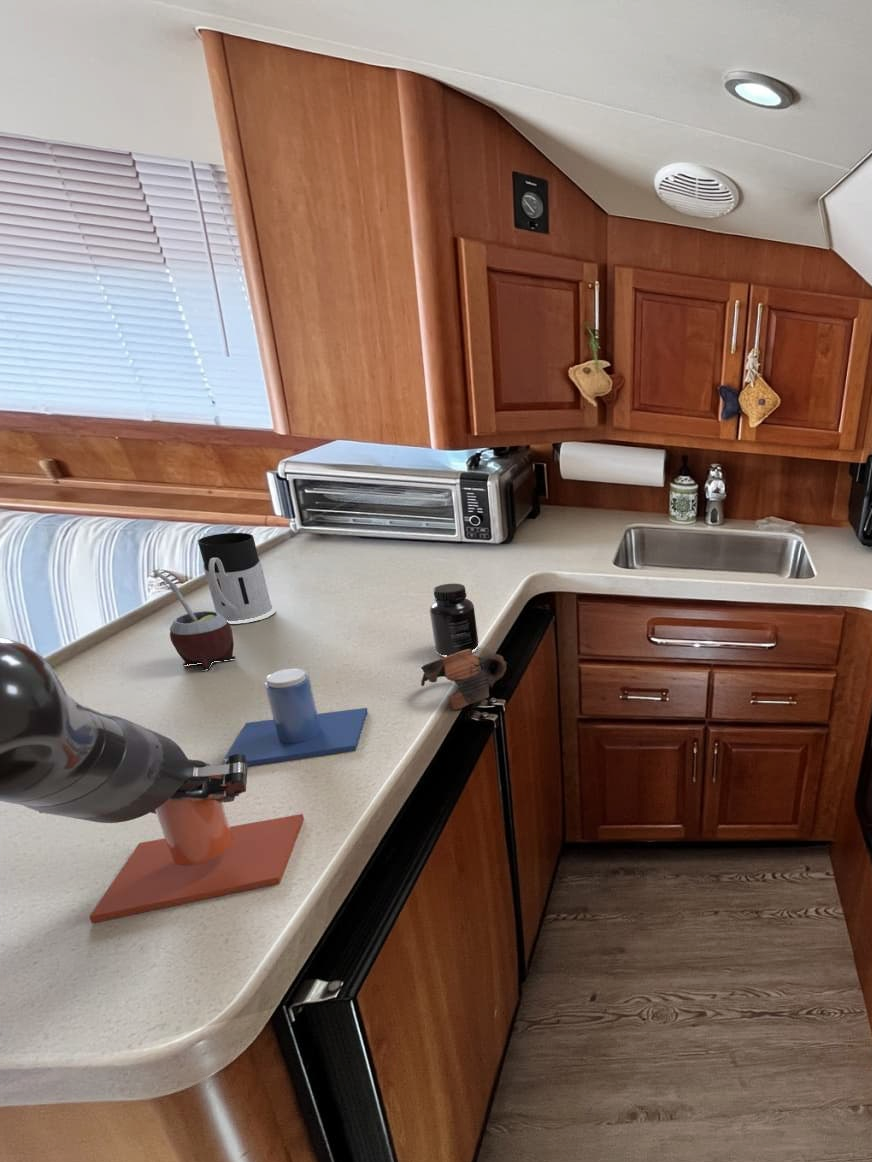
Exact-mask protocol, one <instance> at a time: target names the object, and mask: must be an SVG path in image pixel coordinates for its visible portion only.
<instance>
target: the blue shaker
mask: <svg viewBox="0 0 872 1162" xmlns="http://www.w3.org/2000/svg"><path fill="white" fill-rule="evenodd" d="M265 680H266V682H265V683H264V688H265V689H264V690H265V693H266V697H267V700H268V704H269V709H270V712H271V716H272V720H274V724H275V728H276V732H277V736H278V739H279V741H280V742H282V743H285V744H295V743H300V742H304V741H307V740H310V739H312V738H314V737H315V736H317V735H318V734H319V733H320V732H321V726H320V722H319V717H318V714H319V713H318V709H317V705H316V701H315V696H314V692H313V691H314V690H313V688H312V682H311V679H310V675H308V674H307V673H306V671H305V670H304V669H302V668H294V667H293V668H285V669H281V670H278V671H274V672H272V673H271V674H269V675H268V676H267V677H266V679H265Z"/></svg>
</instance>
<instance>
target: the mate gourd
mask: <svg viewBox="0 0 872 1162" xmlns="http://www.w3.org/2000/svg"><path fill="white" fill-rule="evenodd" d="M152 573H153V574H154V575H156V576H157V577H159V578H160V579H161V580H163V582H165V583H166V584H168V586H169V589H170V590H171V591H172V593H174V594H175V596H176V597H177V599H178V600H179V602H180V604H181V605H182V607H183V608H184V610H185V611H186V614H183V615H180V616H178V617H176V618H175V619H174V621H173V622H172V624H171V625H170V627H169V637H170V642H171V643H172V645H173V647H174V648H175V651H176V653H177V654H178V656H180V657H181V659H182V660H183V663H182V666H183V665H187V664H188V665H189V664H197V663H202V664H203V665H202V668H201V670H206V669H209V667H210V665H211V663H212V662H214V661H224V660H230V659H235V660H236V656H235V655H234V656H233V654H234V653H233V652H234V646H235V643H234V636H233V630H232V627H231V625H229V623H228V622H227V620H226V619H225V618H224V617H223V616H222V615H220V614H219V613H217V612H216V611H211V610H208V611H207V610H203V611H194V612H193V611H192V609H191V607H190V606H189V605H188V603H187V601H186V599H185V598H184V597H183V595H182V593H181V592H180V588H179V587H178V586H177V584H176V583H174V582H173V581H172V580H170V579H169V578H168V577H166V576H165V575H164V574H162V573H161V572H159V571H158V570H157V569H154V570H152Z"/></svg>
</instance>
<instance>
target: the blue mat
mask: <svg viewBox="0 0 872 1162" xmlns="http://www.w3.org/2000/svg"><path fill="white" fill-rule="evenodd" d="M367 711H368V712H369V710H368V707H361V708H353V709H346V710H345V709H344V710H337V711H330V712H322V713H318V717H319V722H320V726H321V732H320V733H319V734H318V735H317V736H315V737H314V738H312V739H310V740H307V741H304V742H300V743H295V744H285V743H282V742H280V741H279V739H278V736H277V732H276V728H275V724H274V720H273V719H266V720H258V721H251V722H245V724H244V726H243V728H242V729H241V731H240V732H239V734H238V736H237V737H236V739H235V740H234V742H233V744H232V745H231V747H230V748H229V750H228V752H226V753H227V754H226V755H225V757H224V758H223V760H225V759H228V757H229V756H232V755H234V754H240V755H245V757H246V762H247V767H253V766H259V765H265V764H272V763H278V762H285V761H286V762H288V761H294V760H299V759H306V758H314V757H319V756H327V755H333V754H340V752H341V753H347V752H353V751H352V750H354V751H357V748H358V745H357V744H359V742H358V741H360V739H361V735H362V732H363V729H362V727H363V728H364V726H363V724H364V725H365V723H364V721H365V722H366V719H365V717H366V718H367V716H366V714H367V715H368V713H367ZM361 731H362V732H361ZM360 734H361V735H360ZM356 747H357V748H356ZM220 765H222V762H221V764H220Z"/></svg>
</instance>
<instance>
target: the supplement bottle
mask: <svg viewBox="0 0 872 1162" xmlns="http://www.w3.org/2000/svg"><path fill="white" fill-rule="evenodd" d="M433 600H434V601H435V602H433V603H431V605H430V607H429V616H430V622H431V629H432V635H433V642H434V648H435V652H436V651H437V652H438V653H439V654H441V655H447V656H449V655H452V654H455V653H457V652H460V651H463V650H466V649H471V650H473V649H475V648H476V647H477V646H478V643H479V636H478V627H477V619H476V618H477V617H476V612H475V610H476V609H475V604H474V603H473V602H472V601H471V600H470V599H468V598H467V592H466V587H465V585H464V584H461V583H444V584H440V585H438V586H437V585H436V586H435V587H434V588H433ZM437 652H436V653H437Z"/></svg>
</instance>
